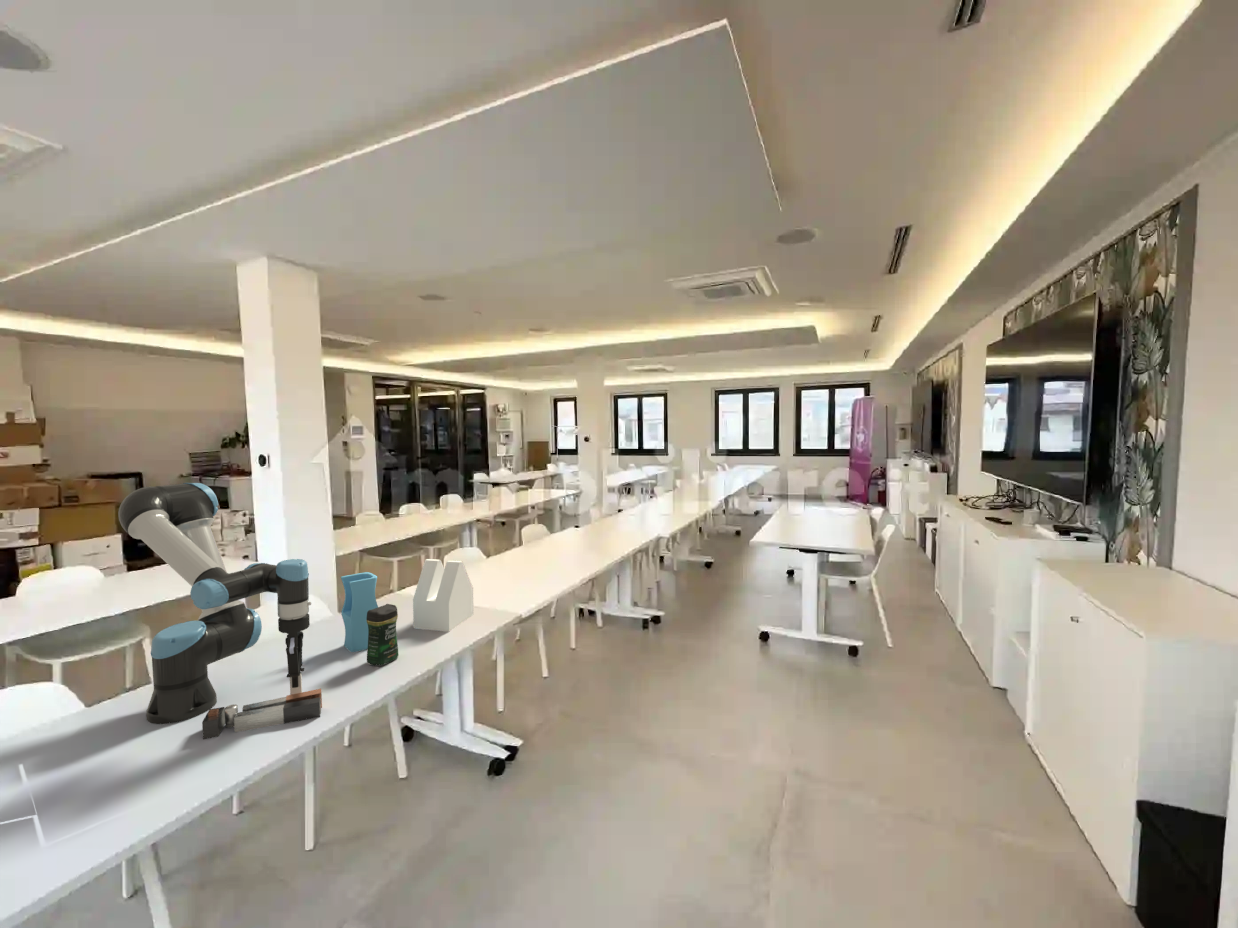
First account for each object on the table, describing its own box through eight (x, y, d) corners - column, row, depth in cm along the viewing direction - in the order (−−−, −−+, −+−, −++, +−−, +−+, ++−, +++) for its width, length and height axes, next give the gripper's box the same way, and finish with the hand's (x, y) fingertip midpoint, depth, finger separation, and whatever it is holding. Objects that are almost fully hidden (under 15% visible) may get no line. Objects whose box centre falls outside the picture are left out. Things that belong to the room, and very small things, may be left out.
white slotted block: (449, 632, 208) (448, 567, 206) (413, 628, 212) (412, 565, 210) (473, 614, 227) (472, 556, 225) (440, 611, 230) (439, 553, 229)
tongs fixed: (203, 739, 136) (202, 718, 135) (210, 726, 142) (209, 705, 141) (319, 717, 146) (319, 698, 146) (322, 706, 152) (321, 687, 152)
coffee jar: (380, 668, 177) (378, 612, 175) (362, 664, 180) (361, 609, 178) (403, 656, 185) (402, 603, 184) (386, 652, 189) (384, 600, 187)
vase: (342, 644, 195) (340, 576, 194) (370, 637, 202) (368, 571, 200) (352, 653, 188) (349, 582, 187) (380, 645, 195) (379, 576, 193)
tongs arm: (224, 728, 140) (223, 710, 140) (226, 723, 143) (225, 705, 143) (321, 707, 151) (321, 690, 151) (321, 702, 154) (321, 686, 154)
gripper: (306, 621, 148) (308, 704, 150) (311, 606, 160) (314, 683, 162) (274, 625, 145) (276, 710, 147) (282, 609, 157) (284, 688, 159)
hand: (296, 696), depth 154 cm, fingers closed
